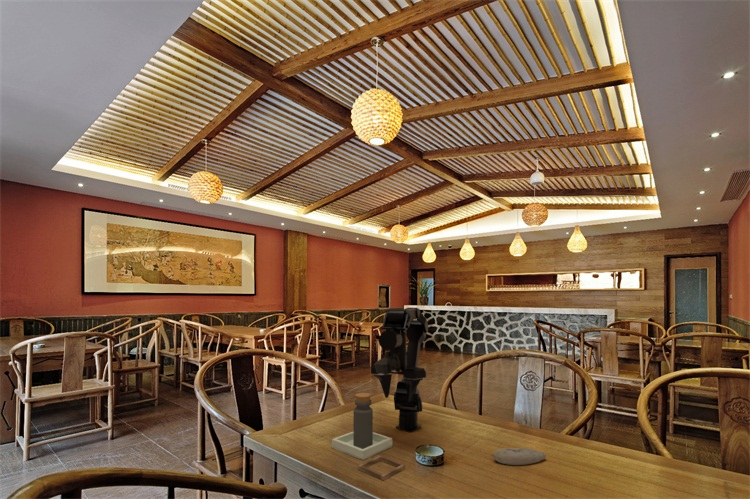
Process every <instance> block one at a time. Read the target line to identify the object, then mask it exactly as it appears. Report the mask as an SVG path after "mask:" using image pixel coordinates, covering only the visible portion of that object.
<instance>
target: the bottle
mask: <svg viewBox="0 0 750 499" xmlns="http://www.w3.org/2000/svg"><path fill="white" fill-rule="evenodd" d="M371 397H372V396H371V393H368V392H358V393H356V394H355V400H354V405H355V406H356V407H355V408H354V409H353V423H352V425H353V430H352V432H353V445H354V446H356V447H358V448H361V449H364V448H367V447H369V446H371V445H373V427H374V426H373V424H374V422H373V420H374V417H373V413H374V412H373V408H372V407H370V406H371V405H372V400H371Z"/></svg>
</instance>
